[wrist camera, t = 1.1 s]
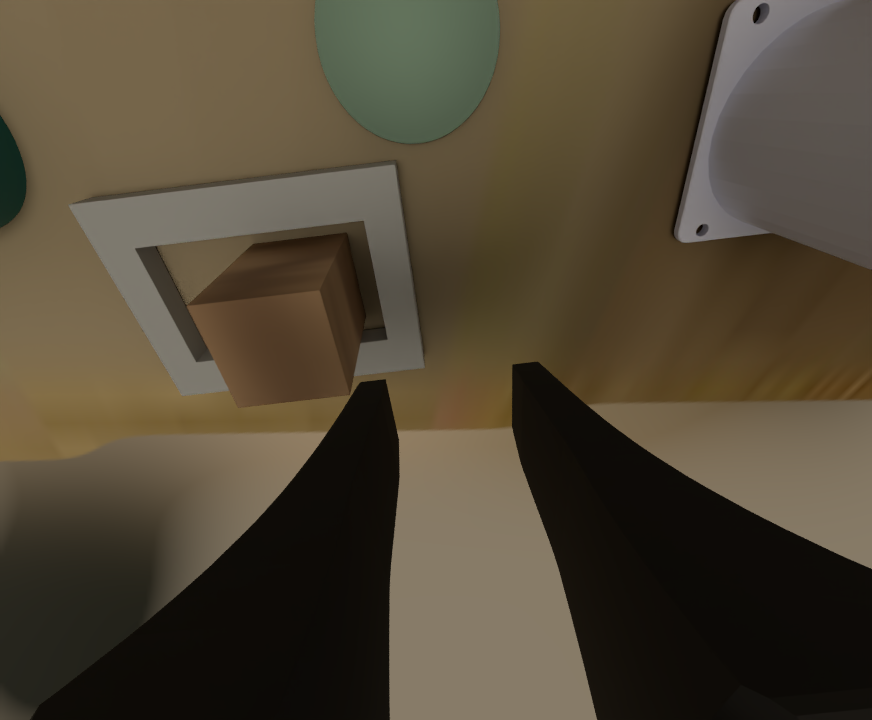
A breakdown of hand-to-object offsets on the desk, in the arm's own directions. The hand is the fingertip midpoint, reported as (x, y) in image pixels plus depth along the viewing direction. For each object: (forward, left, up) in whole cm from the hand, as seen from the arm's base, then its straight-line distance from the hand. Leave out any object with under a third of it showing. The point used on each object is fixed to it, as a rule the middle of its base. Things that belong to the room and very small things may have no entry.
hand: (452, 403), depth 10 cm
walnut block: (+6, 0, -10) cm, 11 cm away
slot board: (+7, 0, -9) cm, 12 cm away
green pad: (0, -8, -9) cm, 12 cm away
